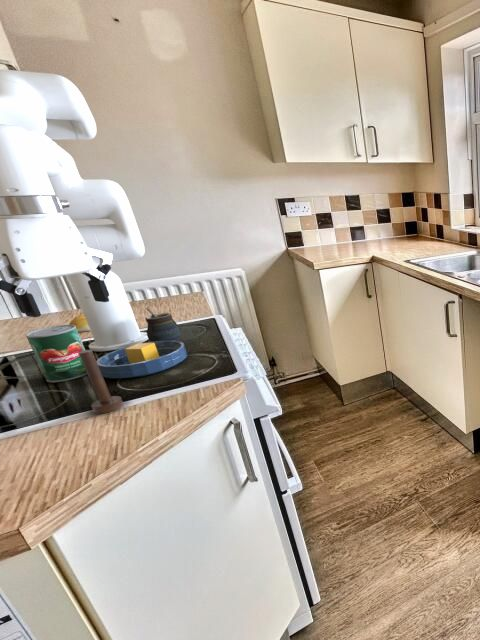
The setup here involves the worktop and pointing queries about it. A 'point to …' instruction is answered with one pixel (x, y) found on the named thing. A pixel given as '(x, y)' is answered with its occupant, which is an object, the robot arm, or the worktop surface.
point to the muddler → (99, 385)
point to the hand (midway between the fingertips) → (70, 308)
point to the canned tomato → (58, 352)
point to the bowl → (120, 366)
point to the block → (141, 352)
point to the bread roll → (80, 323)
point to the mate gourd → (162, 327)
